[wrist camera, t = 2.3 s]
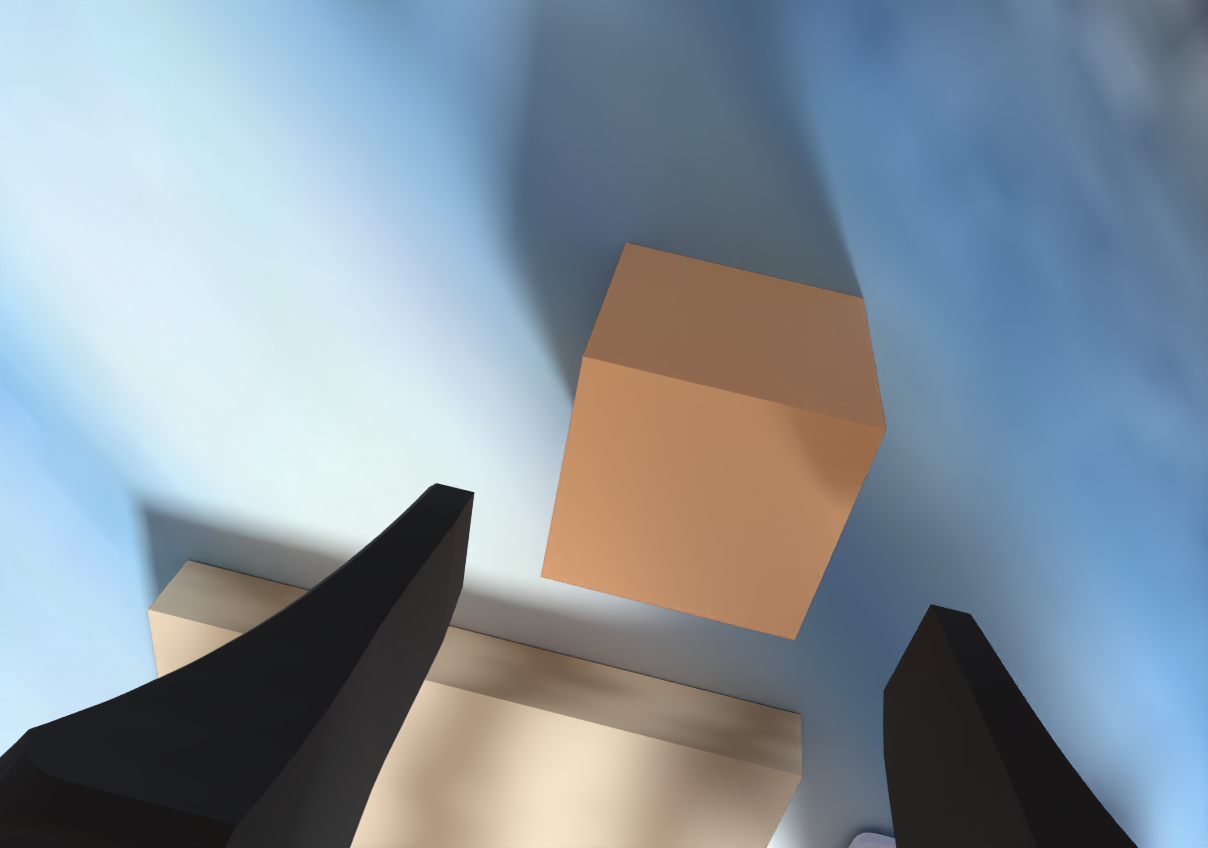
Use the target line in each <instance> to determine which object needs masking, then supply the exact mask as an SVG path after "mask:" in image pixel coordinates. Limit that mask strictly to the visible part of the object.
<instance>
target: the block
mask: <svg viewBox="0 0 1208 848" xmlns="http://www.w3.org/2000/svg"><path fill="white" fill-rule="evenodd" d="M885 431H886V424H885V418H884V413H883V407H882V401H881V395H880V390H879V384H878V378H877V372H876V367H875V361H874V355H873V350H872V344H871V338H870V332H869V327H868V321H867V315H866V309H865V304H864V298H861V297H856V296H852V295H848V294H843V293H839V292H835V291H831V290H826V289H822V288H818V287H814V286H809V285H805V284H801V283H797V282H792V281H788V280H784V279H780V278H775V277H771V276H767V275H763V274H758V273H754V272H750V271H746V270H741V269H737V268H733V267H728V266H724V265H720V264H716V263H711V262H707V261H703V260H699V259H694V258H690V257H686V256H682V255H677V254H673V253H669V252H665V251H660V250H656V249H652V248H648V247H643V246H639V245H635V244H630V243H626V244H625V246H624V249H623V252H622V254H621V257H620V259H619V262H618V265H617V267H616V270H615V273H614V275H613V278H612V281H611V283H610V286H609V289H608V291H607V294H606V296H605V299H604V302H603V304H602V307H601V310H600V312H599V315H598V318H597V320H596V323H595V326H594V328H593V331H592V333H591V336H590V339H589V341H588V344H587V347H586V349H585V352H584V355H583V358H582V363H581V369H580V374H579V379H578V384H577V390H576V395H575V400H574V405H573V411H572V416H571V421H570V426H569V432H568V437H567V442H566V447H565V452H564V458H563V463H562V468H561V473H560V479H559V484H558V489H557V494H556V500H555V505H554V510H553V515H552V521H551V526H550V531H549V536H548V542H547V547H546V552H545V557H544V563H543V568H542V573H541V577H543V578H547V579H551V580H555V581H559V582H563V583H567V584H571V585H575V586H579V587H583V588H587V589H591V590H595V591H599V592H603V593H607V594H611V595H615V596H619V597H623V598H627V599H631V600H635V601H639V602H643V603H647V604H651V605H655V606H659V607H663V608H667V609H671V610H675V611H679V612H683V613H687V614H691V615H695V616H699V617H703V618H707V619H711V620H715V621H719V622H723V623H727V624H731V625H736V626H740V627H744V628H748V629H752V630H756V631H760V632H764V633H768V634H772V635H776V636H780V637H784V638H788V639H792V640H795V638H796V636H797V634H798V632H799V629H800V627H801V625H802V622H803V620H804V618H805V615H806V613H807V611H808V609H809V606H810V604H811V602H812V599H813V597H814V595H815V592H816V590H817V588H818V585H819V583H820V581H821V579H822V576H823V574H824V572H825V569H826V567H827V565H828V562H829V560H830V558H831V556H832V553H833V551H834V549H835V546H836V544H837V542H838V539H839V537H840V535H841V533H842V530H843V528H844V526H845V523H846V521H847V519H848V516H849V514H850V512H851V510H852V507H853V505H854V503H855V500H856V498H857V496H858V493H859V491H860V489H861V486H862V484H863V482H864V480H865V477H866V475H867V473H868V470H869V468H870V466H871V463H872V461H873V459H874V457H875V454H876V452H877V450H878V447H879V445H880V443H881V440H882V438H883V436H884V434H885Z"/></svg>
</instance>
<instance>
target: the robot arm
mask: <svg viewBox="0 0 1208 848" xmlns="http://www.w3.org/2000/svg"><path fill="white" fill-rule="evenodd" d="M473 499H474V492H471V491H467V490H463V489H458V488H454V487H450V486H446V485H442V484H438V483H436V484H434V485H432V486H430V487H429V488H428V489H427V490H426V491H425V492H424V493H423V494H422V495H421V496H420V497H419V498H418V499H417V500H416V501H415V502H414V503H413V504H412V505H411V506H410V507H409V508H408V509H407V510H406V511H405V512H404V513H403V514H402V515H400V516H399V517H398V518H397V519H396V520H395V521H394V522H393V523H392V524H391V525H390V526H388V527H387V528H386V529H385V530H384V531H383V532H382V533H381V534H380V535H378V536H377V537H376V538H375V539H374V540H373V541H371V542H370V543H369V544H368V545H367V546H365V547H364V548H363V549H362V550H361V551H360V552H358V553H357V554H356V555H355V556H354V557H352V558H351V559H350V560H349V561H348V562H346V563H345V564H344V565H343V566H341V567H340V568H339V569H337V570H336V571H335V572H333V573H332V574H331V575H329V576H328V577H327V578H325V579H324V580H323V581H321V582H320V583H319V584H317V585H316V586H315V587H313V588H312V589H311V590H309V591H308V592H307V593H305V594H304V595H303V596H301V597H300V598H298V599H297V600H295V601H294V602H293V603H291V604H290V605H288V606H287V607H285V608H284V609H282V610H281V611H279V612H278V613H276V614H275V615H273V616H271V617H270V618H268V619H267V620H265V621H263V622H262V623H260V624H259V625H257V626H255V627H254V628H252V629H251V630H249V631H247V632H246V633H244V634H242V635H240V636H239V637H237V638H235V639H233V640H231V641H230V642H228V643H226V644H224V645H223V646H221V647H219V648H217V649H216V650H214V651H212V652H210V653H208V654H206V655H205V656H203V657H201V658H199V659H197V660H195V661H193V662H191V663H189V664H187V665H185V666H183V667H181V668H179V669H177V670H175V671H173V672H170V673H168V674H166V675H164V676H162V677H160V678H157V679H155V680H153V681H151V682H149V683H147V684H144V685H142V686H140V687H138V688H136V689H134V690H131V691H129V692H127V693H125V694H122V695H120V696H118V697H115V698H113V699H111V700H108V701H106V702H103V703H100V704H98V705H95V706H92V707H90V708H87V709H84V710H81V711H79V712H76V713H73V714H71V715H68V716H65V717H62V718H60V719H57V720H54V721H52V722H49V723H46V724H43V725H40V726H37V727H34V728H31V729H29V730H28V731H27V732H26V733H25V734H24V735H23V736H22V737H21V738H20V739H19V740H18V741H17V742H16V743H15V744H14V745H13V746H12V747H11V748H10V749H9V750H7V751H6V752H5V753H4V754H3V755H2V756H1V757H0V848H350V847H351V844H352V842H353V839H354V836H355V834H356V831H357V828H358V826H359V823H360V820H361V818H362V815H363V812H364V810H365V807H366V804H367V802H368V799H369V796H370V794H371V791H372V789H373V786H374V784H375V782H376V780H377V777H378V775H379V773H380V771H381V768H382V766H383V764H384V762H385V760H386V758H387V755H388V753H389V751H390V749H391V747H392V745H393V743H394V741H395V739H396V737H397V735H398V733H399V731H400V729H401V727H402V725H403V723H404V721H405V719H406V717H407V715H408V713H409V711H410V709H411V707H412V705H413V703H414V701H415V699H416V697H417V695H418V693H419V691H420V689H421V686H422V684H423V682H424V680H425V678H426V676H427V674H428V672H429V670H430V668H431V666H432V664H433V662H434V660H435V658H436V656H437V654H438V651H439V649H440V647H441V645H442V643H443V641H444V638H445V635H446V632H447V629H448V627H449V624H450V621H451V618H452V616H453V613H454V610H455V607H456V604H457V601H458V598H459V595H460V592H461V590H462V587H463V580H464V572H465V564H466V556H467V548H468V540H469V532H470V524H471V516H472V507H473ZM883 738H884V760H885V768H886V776H887V784H888V791H889V799H890V807H891V814H892V821H893V828H894V835H895V838H892V837H888V836H884V835H880V834H876V833H870V832H868V833H862V834H859V835H857V836H856V837H855V838H854V839H853V841H852V843H851V844H850V846H849V848H1138V847H1137V846H1136V845H1135V843H1134V842H1133V841H1132V840H1131V839H1130V838H1129V837H1128V835H1127V834H1126V833H1125V832H1124V831H1123V830H1122V828H1121V827H1120V826H1119V825H1118V824H1117V823H1116V821H1115V820H1114V819H1113V818H1112V817H1111V815H1110V814H1109V813H1108V812H1107V810H1106V809H1105V808H1104V807H1103V806H1102V804H1101V803H1100V802H1099V801H1098V799H1097V798H1096V797H1095V795H1094V794H1093V793H1092V791H1091V790H1090V789H1089V787H1088V786H1087V785H1086V783H1085V782H1084V781H1083V780H1082V778H1081V777H1080V776H1079V774H1078V773H1077V772H1076V770H1075V769H1074V768H1073V766H1072V765H1071V764H1070V762H1069V761H1068V760H1067V758H1066V757H1065V755H1064V754H1063V753H1062V751H1061V750H1060V749H1059V747H1058V746H1057V744H1056V743H1055V742H1054V740H1053V739H1052V737H1051V736H1050V734H1049V733H1048V732H1047V730H1046V729H1045V727H1044V726H1043V724H1042V723H1041V721H1040V720H1039V718H1038V717H1037V715H1036V714H1035V712H1034V711H1033V710H1032V708H1031V707H1030V705H1029V704H1028V702H1027V701H1026V699H1025V697H1024V696H1023V694H1022V693H1021V691H1020V690H1019V688H1018V687H1017V685H1016V684H1015V682H1014V681H1013V679H1012V678H1011V676H1010V674H1009V673H1008V671H1007V670H1006V668H1005V667H1004V665H1003V664H1002V662H1001V660H1000V659H999V657H998V656H997V654H996V653H995V651H994V649H993V648H992V646H991V645H990V643H989V642H988V640H987V639H986V637H985V635H984V634H983V632H982V631H981V629H980V628H979V626H978V625H977V623H976V622H975V620H974V619H973V617H972V616H971V614H968V613H964V612H960V611H956V610H952V609H948V608H944V607H940V606H936V605H932V604H931V605H930V607H929V609H928V610H927V612H926V614H925V616H924V618H923V620H922V621H921V623H920V625H919V627H918V629H917V631H916V632H915V634H914V636H913V638H912V640H911V642H910V643H909V645H908V647H907V649H906V651H905V653H904V654H903V656H902V658H901V660H900V662H899V664H898V666H897V667H896V669H895V671H894V673H893V675H892V677H891V678H890V680H889V682H888V684H887V686H886V688H885V689H884V709H883Z"/></svg>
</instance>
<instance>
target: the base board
mask: <svg viewBox="0 0 1208 848" xmlns="http://www.w3.org/2000/svg"><path fill="white" fill-rule="evenodd" d="M307 592H308V590H304V589H301V588H297V587H293V586H289V585H285V584H281V583H277V582H273V581H269V580H265V579H261V578H257V577H253V576H249V575H245V574H241V573H237V572H233V571H229V570H225V569H221V568H217V567H213V566H209V565H205V564H201V563H197V562H194V561H190V560H187V562H186V563H185V564H184V565H183V567H182V568H181V569H180V570H179V572H178V573H177V574H176V575H175V576H174V578H173V579H172V580H171V581H170V583H169V584H168V585H167V586H166V588H165V589H164V590H163V591H162V592H161V594H160V595H159V596H158V597H157V599H156V600H155V601H154V602H153V604H152V605H151V606H150V607H149V608H148V614H149V621H150V627H151V634H152V641H153V647H154V654H155V660H156V667H157V674H158V678H160V677H162V676H164V675H166V674H168V673H170V672H173V671H175V670H177V669H179V668H181V667H183V666H185V665H187V664H189V663H191V662H193V661H195V660H197V659H199V658H201V657H203V656H205V655H206V654H208V653H210V652H212V651H214V650H216V649H217V648H219V647H221V646H223V645H224V644H226V643H228V642H230V641H231V640H233V639H235V638H237V637H239V636H240V635H242V634H244V633H246V632H247V631H249V630H251V629H252V628H254V627H255V626H257V625H259V624H260V623H262V622H263V621H265V620H267V619H268V618H270V617H271V616H273V615H275V614H276V613H278V612H279V611H281V610H282V609H284V608H285V607H287V606H288V605H290V604H291V603H293V602H294V601H295V600H297V599H298V598H300V597H301V596H303V595H304V594H305V593H307ZM802 777H803V768H802V725H801V715H800V714H796V713H792V712H788V711H784V710H780V709H776V708H772V707H768V706H764V705H760V704H756V703H752V702H748V701H744V700H740V699H736V698H732V697H728V696H724V695H720V694H716V693H713V692H709V691H705V690H701V689H697V688H693V687H689V686H685V685H681V684H677V683H673V682H669V681H665V680H661V679H657V678H653V677H649V676H645V675H641V674H637V673H633V672H629V671H625V670H621V669H617V668H613V667H610V666H606V665H602V664H598V663H594V662H590V661H586V660H582V659H578V658H574V657H570V656H566V655H562V654H558V653H554V652H550V651H546V650H542V649H538V648H534V647H530V646H526V645H522V644H518V643H514V642H510V641H507V640H503V639H499V638H495V637H491V636H487V635H483V634H479V633H475V632H471V631H467V630H463V629H459V628H455V627H451V626H449V627H448V629H447V632H446V635H445V638H444V641H443V643H442V645H441V647H440V649H439V651H438V654H437V656H436V658H435V660H434V662H433V664H432V666H431V668H430V670H429V672H428V674H427V676H426V678H425V680H424V682H423V684H422V686H421V689H420V691H419V693H418V695H417V697H416V699H415V701H414V703H413V705H412V707H411V709H410V711H409V713H408V715H407V717H406V719H405V721H404V723H403V725H402V727H401V729H400V731H399V733H398V735H397V737H396V739H395V741H394V743H393V745H392V747H391V749H390V751H389V753H388V755H387V758H386V760H385V762H384V764H383V766H382V768H381V771H380V773H379V775H378V777H377V780H376V782H375V784H374V786H373V789H372V791H371V794H370V796H369V799H368V802H367V804H366V807H365V810H364V812H363V815H362V818H361V820H360V823H359V826H358V828H357V831H356V834H355V836H354V839H353V842H352V844H351V847H350V848H767V846H768V844H769V842H770V840H771V838H772V836H773V834H774V832H775V830H776V828H777V826H778V824H779V822H780V820H781V818H782V816H783V814H784V812H785V810H786V808H787V806H788V804H789V802H790V800H791V798H792V796H793V794H794V792H795V790H796V788H797V786H798V784H799V782H800V781H801V779H802Z"/></svg>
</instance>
